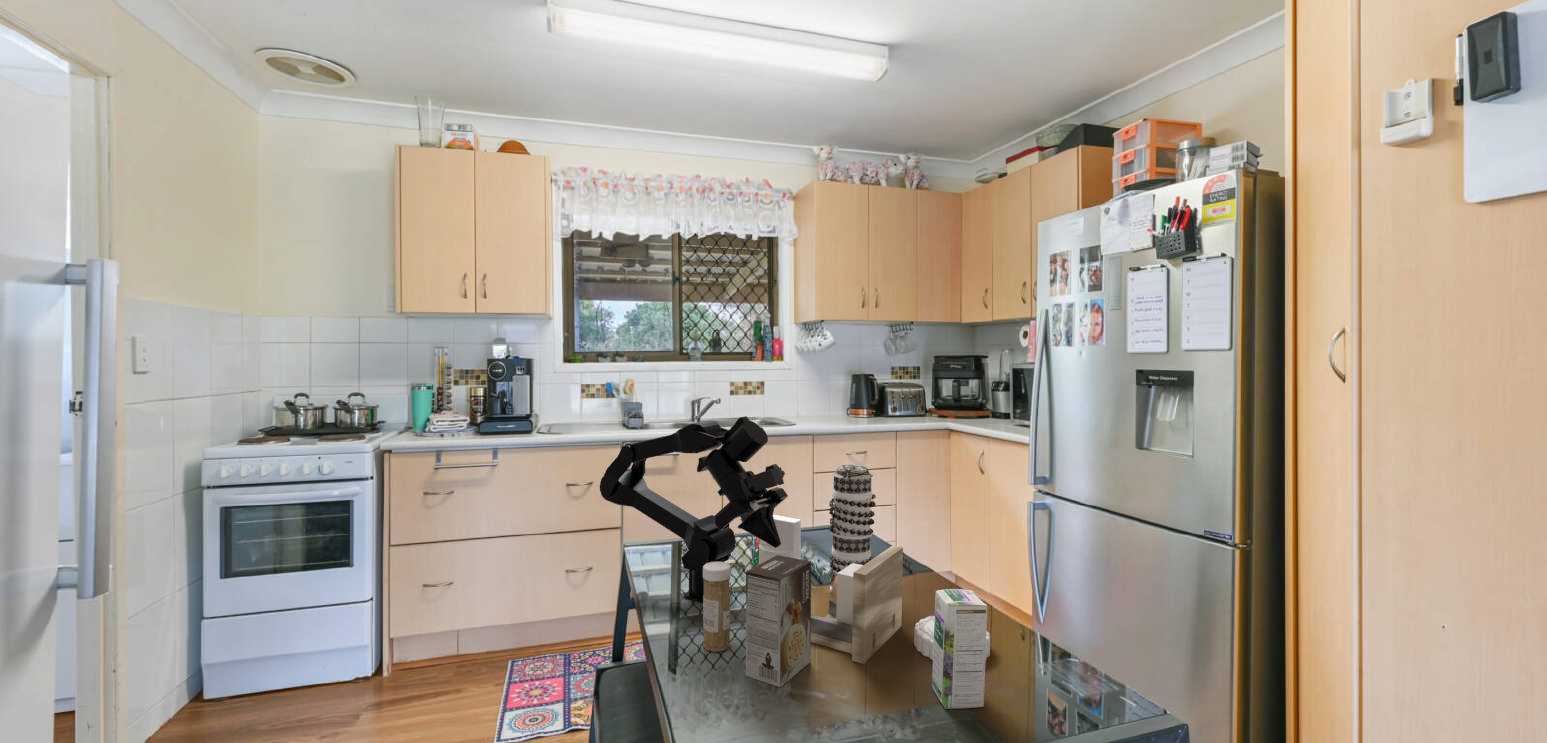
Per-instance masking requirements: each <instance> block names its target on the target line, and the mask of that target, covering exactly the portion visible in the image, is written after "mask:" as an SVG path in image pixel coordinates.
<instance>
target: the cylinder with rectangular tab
mask: <svg viewBox="0 0 1547 743" xmlns="http://www.w3.org/2000/svg"><path fill="white" fill-rule="evenodd" d="M773 518H774V522H775V525H776V529H777V532H778V535H779V538H780V541H781V545H780V546H778V547H777V548H775V547H773V546H771V545H770V544H768V543H766V542H765V541H763V540H761V539H760V538H759V545H758V565H759V564H761V563H763V562H765V561H767V560H769V559H771V558H773V557H775V556H776V555H779V556H785V557H791V558H795V559H800V560H802V559H801V558H802V545H801V534H802V532H801V530H802V528H801V527H802V526H801V525H802V522H801V521H802V520H801V519H798V518H795V517H788V516H783V515H778V514H773Z"/></svg>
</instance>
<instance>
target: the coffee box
mask: <svg viewBox="0 0 1547 743" xmlns="http://www.w3.org/2000/svg"><path fill="white" fill-rule="evenodd" d="M811 601H812V561H811V560H804V559H801V560H800V559H795V558H791V557H785V556H779V555H776V556H775V557H773V558H771V559H769V560H767V561H765V562H763V563H761V564H759V563H758V564H757V565H756V566H754V567H752V568H750V569H748V570H746V571H745V676H746V677H748V678H750V679H754V680H757V681H761V682H763V683H765V684H769V685H771V686H774V687H778V688H781V687H783V686H784V685H785V684H787V682H788V681H789V682H790V680H791V679H793V678H794V677H795V676H796V675H797V674H799V672H800V671H802V670H803V669H804V668H806V666H808V665H809V664H810V663H811V658H812V656H811V654H812V653H811V651H812V650H811V649H812V648H811V646H812V645H811V644H812V642H811V614H812V602H811Z"/></svg>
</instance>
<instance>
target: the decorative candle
mask: <svg viewBox="0 0 1547 743" xmlns="http://www.w3.org/2000/svg"><path fill="white" fill-rule="evenodd" d="M831 475H832V476H833V487H832V497H833V498H831V499H830V500H829V501H828V502H829V503H828V504H829V507H830V508H829V512H828V513H829V514H830V515H831V518H830V519H829V524H830V526H829V532H830V534H831V535H832V546H831V553H830V555H829V560H830V563H829V567H830V568H831V570H829V582H828V584H829V585H830V586H829V592H830V593H831V594H832V586H833V582H834V580H835V578H836V576H837V573H838V572H840V571H841V570H843V569H844V568H846V567H847V566H849V565H850V564H852V563H855V564H859V565H865V564H866V563H868V562H869V561H871V560H872V559H873V558H874V557H873V556H872V547H871V537H872V536H873V534H874V529H873V528H871V526H872V525H874V524H875V520H874V519H873V517H875V511H874V510H873V511H872V510H871V508H874V507H876V505H877V504H876V502H875V501H873V500H874V499H876V495H875V494H874V493H873V489H872V478H873V476H874V474H872V473H870V471H869V469H868V468H867V467H865V466H863V465H859V464H844V465H840V466H838V467H837V469H836V470H835V472H832V473H831Z"/></svg>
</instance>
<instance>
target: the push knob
mask: <svg viewBox="0 0 1547 743" xmlns="http://www.w3.org/2000/svg"><path fill="white" fill-rule="evenodd" d="M862 566H863V565H859V564H855V563H852V564H850V565H849V566H847V567H846V568H844V569H843V570H841V571H840V572H838V573H837V576H836V578H835V580H834V582H833V586H832V593H831V598H832V600H833V602H834V603H835V604H837V613H836V621H838V622H842V623H846V624H850V625H853V572H855V571H856V570H858V569H859V568H860V567H862Z"/></svg>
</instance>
